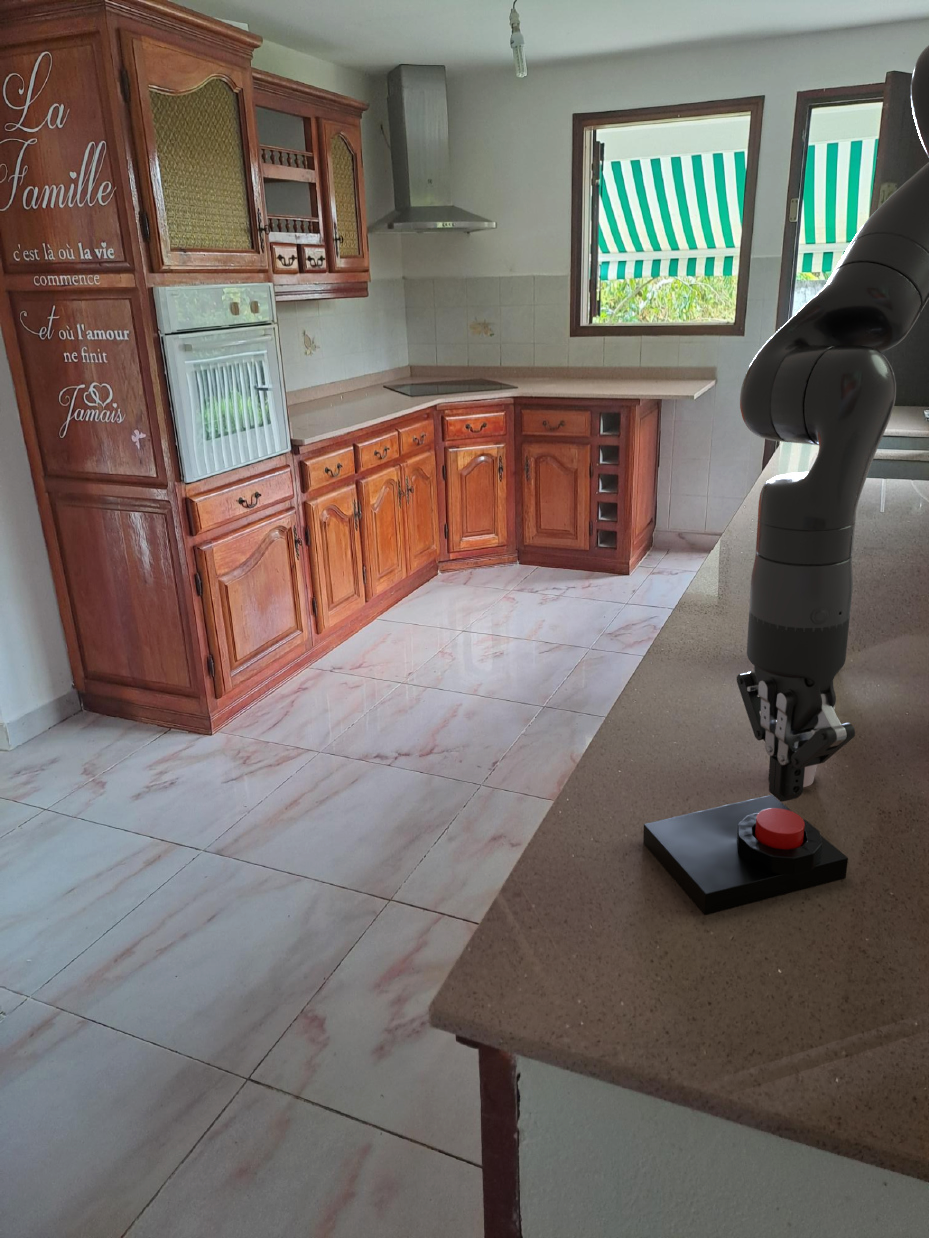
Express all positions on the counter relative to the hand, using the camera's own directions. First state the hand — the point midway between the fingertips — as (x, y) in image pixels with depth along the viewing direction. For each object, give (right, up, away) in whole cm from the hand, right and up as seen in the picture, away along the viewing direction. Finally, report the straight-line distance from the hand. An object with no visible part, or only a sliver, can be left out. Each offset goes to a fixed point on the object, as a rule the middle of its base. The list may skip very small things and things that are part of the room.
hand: (784, 795), depth 76 cm
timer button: (0, -4, +2) cm, 4 cm away
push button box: (-2, -7, +5) cm, 9 cm away
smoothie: (+7, -2, +17) cm, 19 cm away
